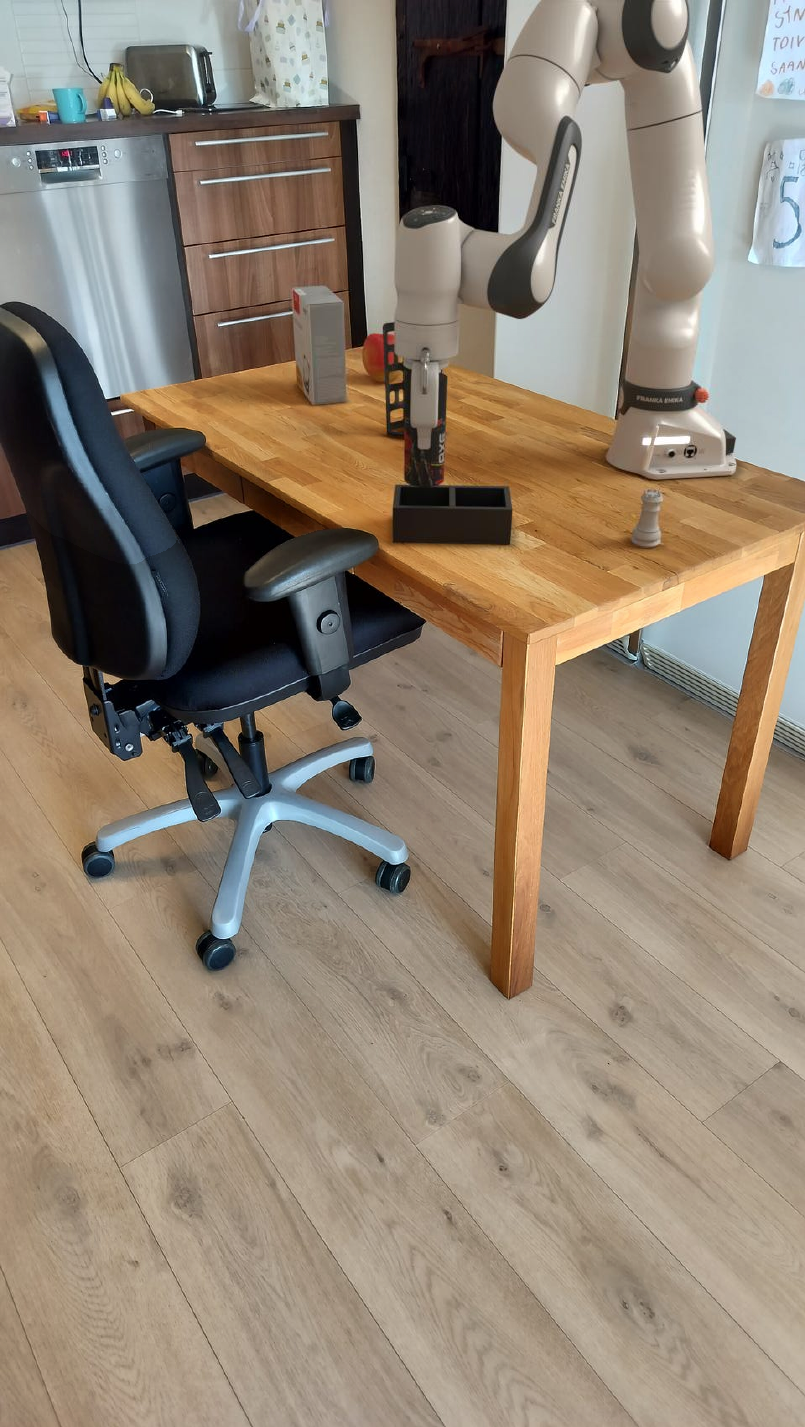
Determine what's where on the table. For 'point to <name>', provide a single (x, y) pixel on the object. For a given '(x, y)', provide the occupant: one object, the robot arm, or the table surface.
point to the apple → (378, 357)
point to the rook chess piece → (648, 521)
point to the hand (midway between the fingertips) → (424, 439)
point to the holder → (393, 385)
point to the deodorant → (430, 463)
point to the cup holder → (452, 514)
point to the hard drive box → (319, 344)
